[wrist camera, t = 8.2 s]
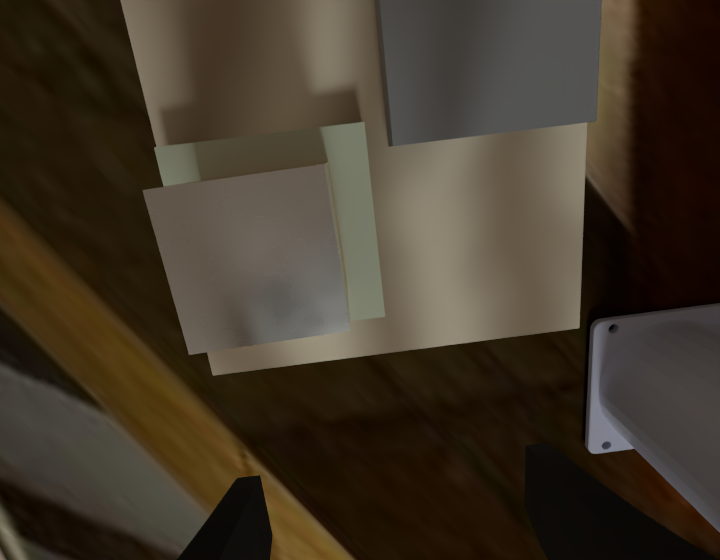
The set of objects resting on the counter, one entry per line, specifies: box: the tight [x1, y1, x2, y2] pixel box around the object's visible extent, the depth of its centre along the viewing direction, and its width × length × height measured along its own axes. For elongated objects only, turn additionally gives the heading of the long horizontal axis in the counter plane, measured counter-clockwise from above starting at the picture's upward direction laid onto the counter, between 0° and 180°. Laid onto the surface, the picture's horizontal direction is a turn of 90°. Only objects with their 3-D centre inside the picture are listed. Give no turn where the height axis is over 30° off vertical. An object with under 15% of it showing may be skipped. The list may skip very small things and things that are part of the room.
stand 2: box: [375, 0, 602, 147], centre depth 16 cm, size 8×8×2 cm
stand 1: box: [154, 122, 385, 321], centre depth 18 cm, size 8×8×2 cm
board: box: [121, 0, 587, 375], centre depth 18 cm, size 18×18×1 cm
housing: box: [143, 162, 350, 355], centre depth 15 cm, size 5×5×5 cm
